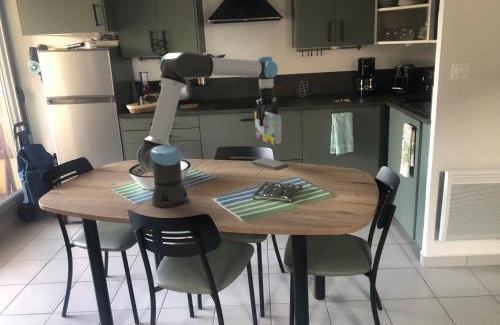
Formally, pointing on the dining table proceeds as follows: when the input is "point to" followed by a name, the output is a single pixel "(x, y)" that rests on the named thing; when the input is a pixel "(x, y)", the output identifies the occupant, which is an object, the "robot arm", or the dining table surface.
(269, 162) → the slate board
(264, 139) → the snack box
